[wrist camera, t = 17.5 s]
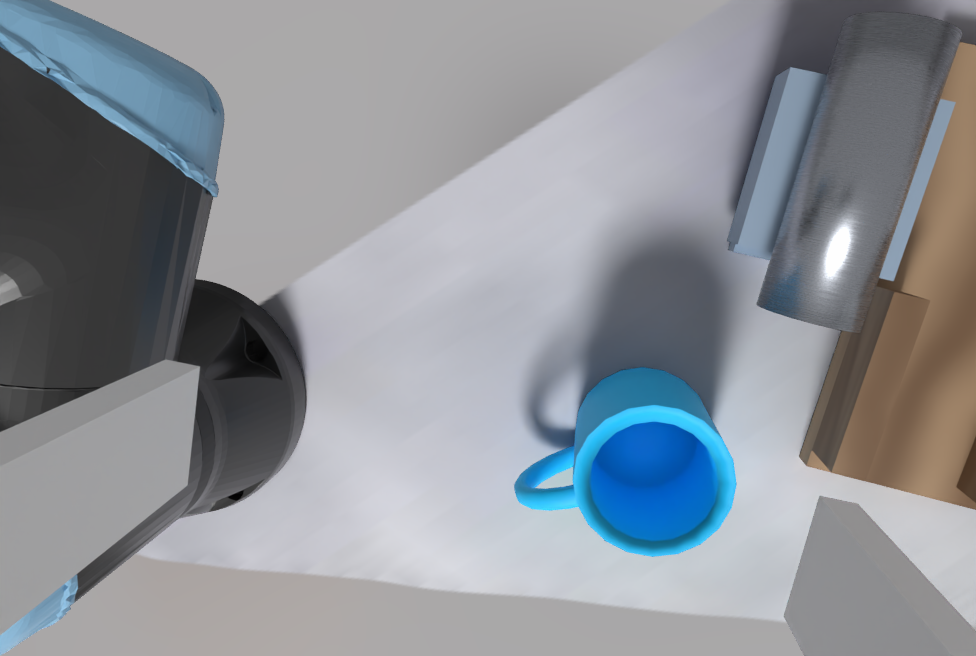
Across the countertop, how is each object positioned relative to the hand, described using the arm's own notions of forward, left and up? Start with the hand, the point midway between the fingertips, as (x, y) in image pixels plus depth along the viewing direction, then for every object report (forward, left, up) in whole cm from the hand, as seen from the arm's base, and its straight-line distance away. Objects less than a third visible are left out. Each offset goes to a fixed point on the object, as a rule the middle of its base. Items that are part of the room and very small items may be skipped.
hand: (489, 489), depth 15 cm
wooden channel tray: (+22, +5, -30) cm, 37 cm away
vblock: (+13, +10, -30) cm, 34 cm away
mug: (+6, -8, -30) cm, 32 cm away
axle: (+14, +10, -26) cm, 31 cm away
